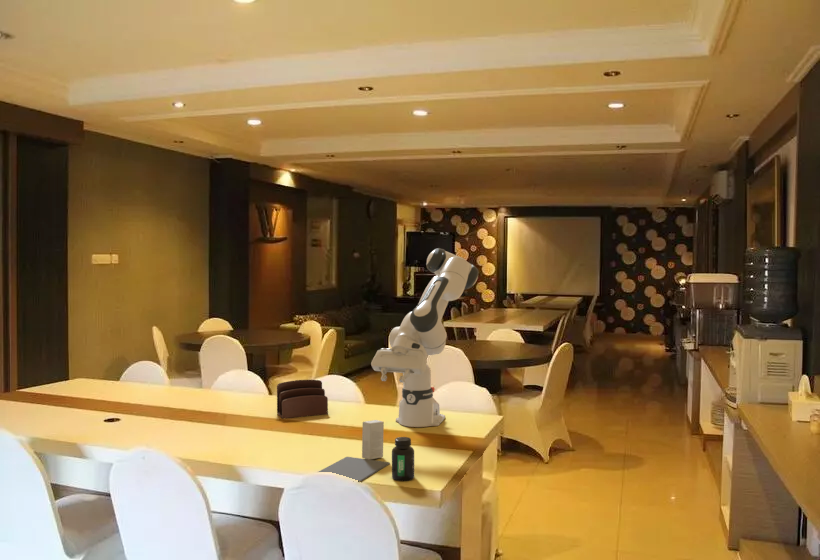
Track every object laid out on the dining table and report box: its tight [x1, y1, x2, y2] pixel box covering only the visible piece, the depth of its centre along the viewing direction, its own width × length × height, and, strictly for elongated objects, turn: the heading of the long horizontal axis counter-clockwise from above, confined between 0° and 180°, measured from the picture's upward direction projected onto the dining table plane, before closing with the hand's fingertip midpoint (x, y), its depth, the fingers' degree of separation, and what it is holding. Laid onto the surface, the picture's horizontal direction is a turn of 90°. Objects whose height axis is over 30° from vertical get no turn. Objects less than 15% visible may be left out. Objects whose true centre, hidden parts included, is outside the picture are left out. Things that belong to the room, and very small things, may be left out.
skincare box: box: [361, 419, 384, 460], centre depth 232 cm, size 6×4×12 cm
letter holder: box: [276, 379, 329, 420], centre depth 297 cm, size 10×20×14 cm, turn 113°
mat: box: [318, 456, 390, 482], centre depth 220 cm, size 20×16×1 cm
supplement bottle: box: [391, 436, 415, 482], centre depth 212 cm, size 7×7×12 cm
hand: (392, 380), depth 245 cm, fingers open, 6 cm apart
